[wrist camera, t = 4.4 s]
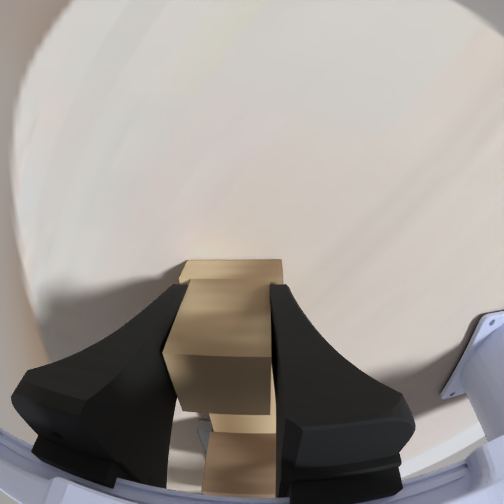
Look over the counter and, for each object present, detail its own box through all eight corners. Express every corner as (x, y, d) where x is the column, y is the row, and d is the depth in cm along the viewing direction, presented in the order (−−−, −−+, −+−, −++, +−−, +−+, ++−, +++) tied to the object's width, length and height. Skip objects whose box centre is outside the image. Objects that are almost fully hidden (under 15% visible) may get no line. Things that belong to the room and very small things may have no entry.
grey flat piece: (373, 414, 18) (378, 431, 16) (339, 474, 24) (341, 485, 22) (199, 420, 18) (195, 437, 17) (220, 477, 24) (218, 489, 23)
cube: (280, 433, 16) (281, 494, 12) (277, 458, 18) (277, 509, 14) (210, 431, 16) (201, 490, 12) (218, 457, 18) (212, 507, 14)
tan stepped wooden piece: (281, 259, 12) (290, 356, 8) (274, 441, 20) (274, 502, 15) (187, 260, 13) (146, 351, 8) (223, 440, 20) (216, 500, 15)
